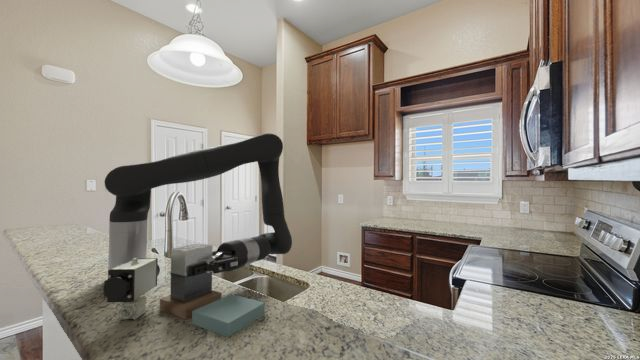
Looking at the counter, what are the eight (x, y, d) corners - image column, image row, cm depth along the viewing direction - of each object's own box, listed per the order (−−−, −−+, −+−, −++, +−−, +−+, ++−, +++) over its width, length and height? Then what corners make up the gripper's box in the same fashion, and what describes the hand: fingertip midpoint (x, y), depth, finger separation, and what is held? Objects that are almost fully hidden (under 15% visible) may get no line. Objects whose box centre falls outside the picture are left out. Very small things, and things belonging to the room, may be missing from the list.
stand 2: (191, 323, 54) (192, 311, 54) (230, 304, 62) (230, 293, 62) (228, 337, 49) (228, 323, 49) (264, 314, 58) (264, 302, 58)
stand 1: (159, 310, 59) (160, 298, 60) (195, 296, 67) (196, 286, 67) (186, 319, 55) (186, 307, 55) (221, 303, 63) (221, 292, 63)
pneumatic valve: (160, 304, 63) (161, 252, 63) (126, 330, 51) (128, 266, 51) (135, 304, 62) (136, 252, 63) (95, 331, 51) (98, 266, 51)
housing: (169, 299, 59) (170, 248, 60) (198, 288, 66) (198, 243, 66) (184, 303, 57) (185, 251, 57) (212, 292, 63) (213, 245, 64)
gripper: (220, 237, 78) (162, 248, 63) (259, 242, 71) (203, 256, 56) (220, 263, 77) (161, 281, 63) (258, 271, 71) (203, 293, 56)
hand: (181, 269), depth 59 cm, fingers closed on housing, 5 cm apart
